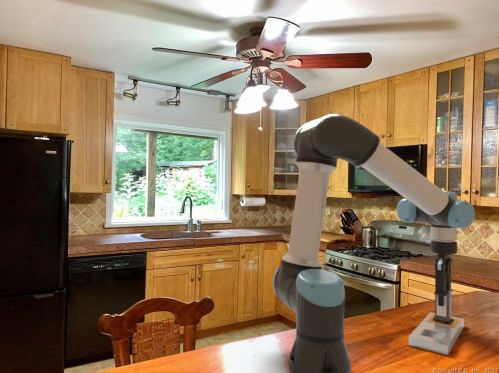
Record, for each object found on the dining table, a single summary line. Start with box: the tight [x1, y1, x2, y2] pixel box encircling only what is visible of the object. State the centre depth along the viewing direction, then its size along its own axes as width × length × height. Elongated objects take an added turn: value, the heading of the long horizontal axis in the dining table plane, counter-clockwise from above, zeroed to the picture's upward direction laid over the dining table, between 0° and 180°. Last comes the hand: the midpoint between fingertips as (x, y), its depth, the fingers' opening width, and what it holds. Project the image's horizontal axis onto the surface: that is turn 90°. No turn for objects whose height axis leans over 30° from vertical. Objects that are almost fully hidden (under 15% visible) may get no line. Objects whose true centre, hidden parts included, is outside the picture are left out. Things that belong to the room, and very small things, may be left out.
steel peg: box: [434, 288, 453, 325], centre depth 119 cm, size 4×4×11 cm
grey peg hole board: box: [408, 311, 465, 356], centre depth 114 cm, size 10×26×3 cm, turn 142°
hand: (443, 313), depth 120 cm, fingers closed on steel peg, 4 cm apart
